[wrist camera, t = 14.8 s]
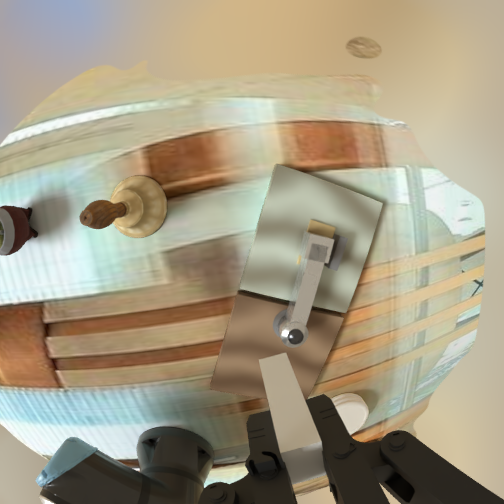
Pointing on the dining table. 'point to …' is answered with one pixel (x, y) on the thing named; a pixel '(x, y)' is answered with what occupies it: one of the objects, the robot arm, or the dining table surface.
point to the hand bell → (130, 208)
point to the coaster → (351, 410)
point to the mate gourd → (14, 229)
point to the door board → (284, 275)
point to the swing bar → (304, 288)
